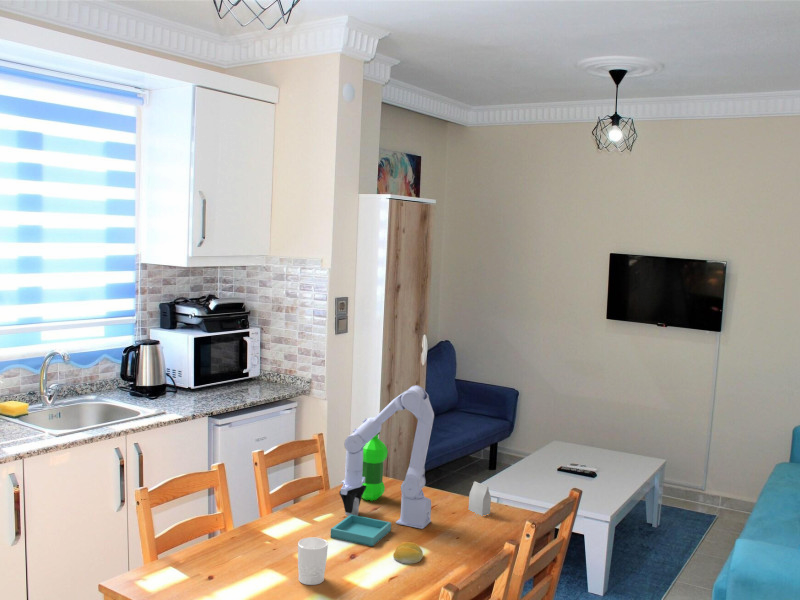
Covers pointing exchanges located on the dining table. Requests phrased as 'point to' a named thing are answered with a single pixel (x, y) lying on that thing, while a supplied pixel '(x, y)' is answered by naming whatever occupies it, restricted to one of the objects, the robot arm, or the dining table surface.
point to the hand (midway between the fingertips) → (351, 509)
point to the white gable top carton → (479, 499)
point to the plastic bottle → (373, 468)
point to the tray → (361, 530)
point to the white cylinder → (354, 508)
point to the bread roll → (408, 553)
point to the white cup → (312, 560)
